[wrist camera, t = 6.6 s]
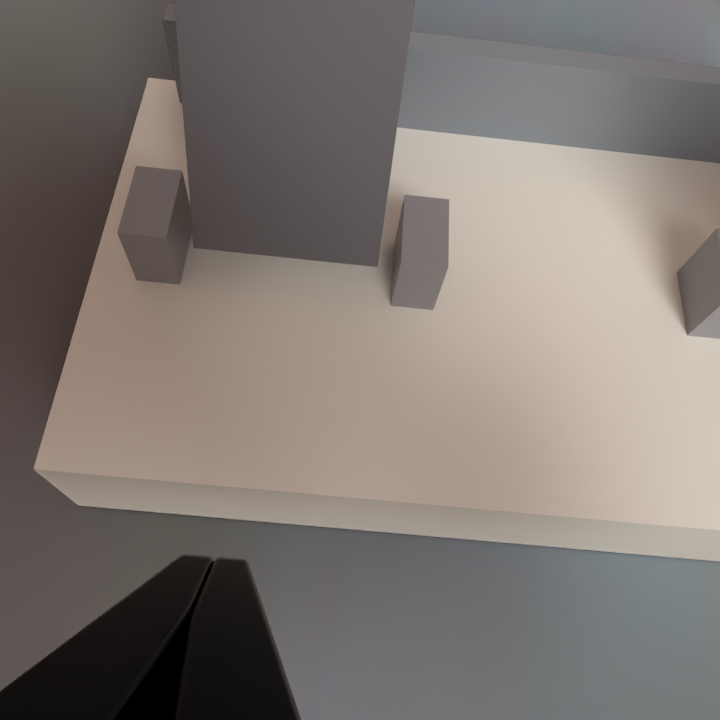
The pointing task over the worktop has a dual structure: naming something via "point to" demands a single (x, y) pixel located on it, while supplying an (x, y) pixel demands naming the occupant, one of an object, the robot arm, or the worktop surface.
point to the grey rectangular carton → (291, 123)
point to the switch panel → (429, 323)
